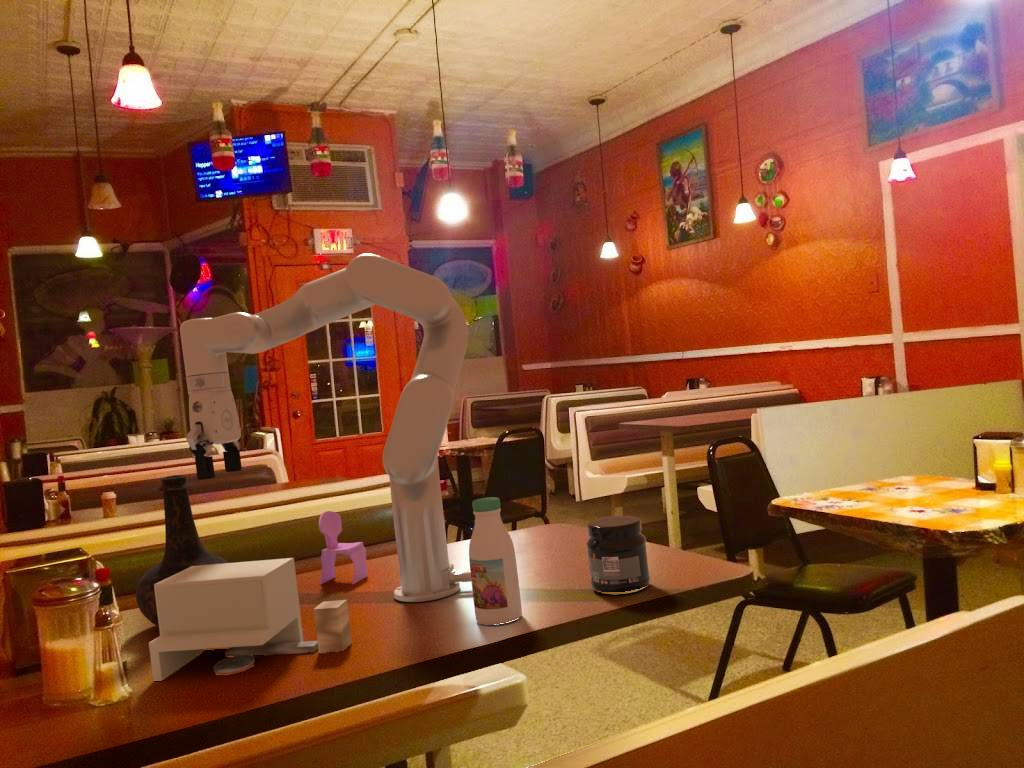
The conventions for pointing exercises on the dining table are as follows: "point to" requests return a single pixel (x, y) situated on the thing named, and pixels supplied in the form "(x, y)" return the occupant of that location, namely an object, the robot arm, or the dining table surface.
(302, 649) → the tool
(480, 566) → the milk bottle
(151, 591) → the glass bottle
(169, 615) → the white box on stand
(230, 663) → the token
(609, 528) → the supplement container
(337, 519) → the toy chair
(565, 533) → the dining table surface
